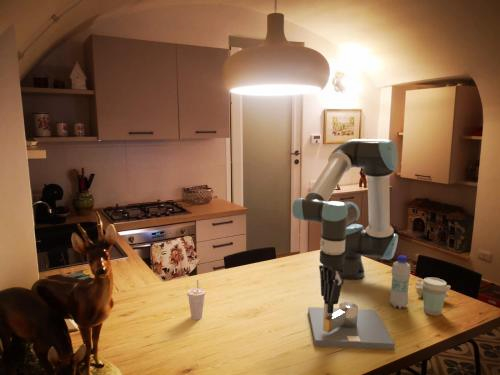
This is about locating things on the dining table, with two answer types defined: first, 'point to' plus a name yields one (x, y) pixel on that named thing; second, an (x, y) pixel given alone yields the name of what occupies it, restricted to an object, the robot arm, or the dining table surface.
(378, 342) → the grey base plate
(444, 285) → the coffee cup
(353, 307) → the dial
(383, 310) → the dining table surface
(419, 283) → the cat figurine
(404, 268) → the bottle
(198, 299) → the smoothie
